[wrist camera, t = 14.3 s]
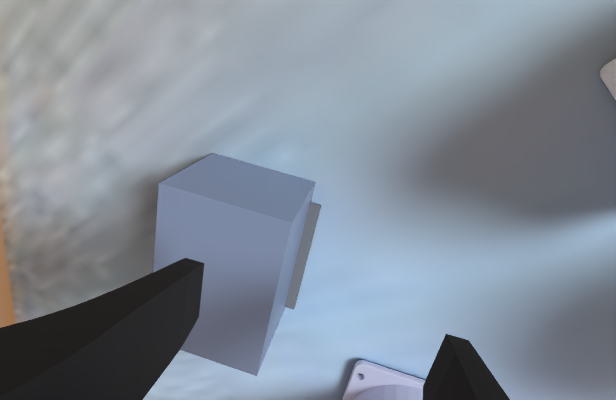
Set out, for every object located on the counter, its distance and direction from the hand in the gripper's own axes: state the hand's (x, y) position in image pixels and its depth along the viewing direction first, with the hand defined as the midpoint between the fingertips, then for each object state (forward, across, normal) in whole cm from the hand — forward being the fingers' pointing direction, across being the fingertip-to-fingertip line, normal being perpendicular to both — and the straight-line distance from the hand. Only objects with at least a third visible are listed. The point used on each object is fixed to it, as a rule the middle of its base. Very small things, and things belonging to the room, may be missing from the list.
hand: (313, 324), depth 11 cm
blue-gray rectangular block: (+10, +5, +4) cm, 11 cm away
